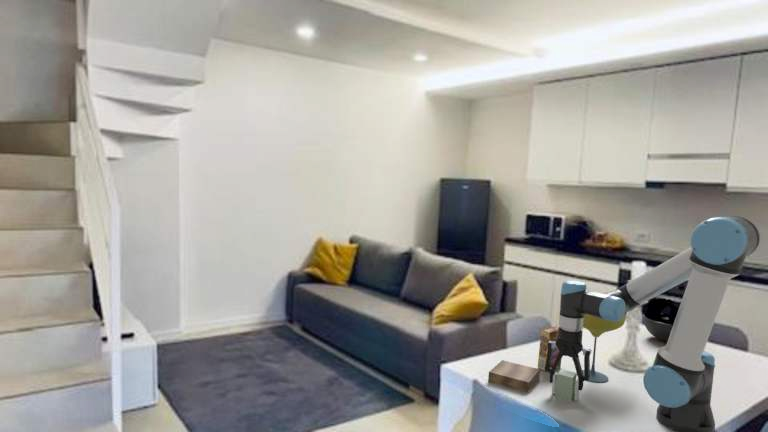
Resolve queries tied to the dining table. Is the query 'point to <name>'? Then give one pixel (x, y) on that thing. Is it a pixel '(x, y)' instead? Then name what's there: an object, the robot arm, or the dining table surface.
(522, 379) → the walnut plinth
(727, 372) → the dining table surface
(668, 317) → the coal bowl
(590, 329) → the cocktail glass
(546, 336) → the candy box
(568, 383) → the sage block
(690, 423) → the robot arm
